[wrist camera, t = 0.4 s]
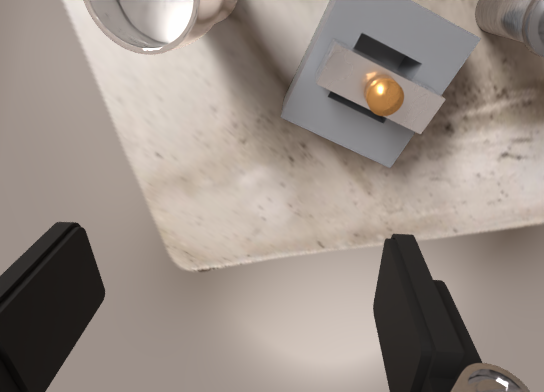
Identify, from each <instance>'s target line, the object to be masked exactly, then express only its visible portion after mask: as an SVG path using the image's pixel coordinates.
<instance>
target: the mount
mask: <svg viewBox="0 0 544 392" xmlns="http://www.w3.org/2000/svg"><path fill="white" fill-rule="evenodd" d="M333 38H335V39H337V40H338V41H340V42H342V43H344V44H346V45H348V46H350V47H352V48H354V49H356V50H358V51H360V52H362V53H364V54H366V55H368V56H370V57H372V58H374V59H376V60H378V61H380V62H382V63H384V64H386V65H388V66H390V67H391V68H393V69H395V70H397V71H399V72H401V73H403V74H405V75H407V76H409V77H411V78H413V79H415V80H417V81H419V82H421V83H423V84H425V85H427V86H429V87H431V88H433V89H434V90H435V91H437V92H438V93H439V94H440V95H442V94H443V92H444V91H445V89H446V88H447V86H448V85H449V84H450V82H451V81H452V79H453V78H454V76H455V75H456V74H457V72H458V71H459V69H460V68H461V67H462V65H463V64H464V62H465V61H466V59H467V58H468V57H469V55H470V54H471V52H472V51H473V49H474V48H475V47H476V45H477V44H478V42H479V41H480V39H481V38H479V37H477V36H476V35H474V34H472V33H470V32H468V31H466V30H465V29H463V28H461V27H459V26H457V25H455V24H453V23H452V22H450V21H448V20H446V19H444V18H442V17H441V16H439V15H437V14H435V13H433V12H431V11H430V10H428V9H426V8H424V7H422V6H420V5H419V4H417V3H415V2H413V1H411V0H330V1H329V4H328V6H327V8H326V10H325V12H324V14H323V16H322V19H321V21H320V23H319V25H318V27H317V29H316V31H315V33H314V36H313V38H312V40H311V42H310V44H309V46H308V48H307V50H306V53H305V55H304V57H303V59H302V61H301V63H300V65H299V68H298V70H297V72H296V74H295V76H294V78H293V80H292V82H291V85H290V87H289V89H288V91H287V93H286V95H285V97H284V101H283V107H282V112H281V118H283V119H285V120H287V121H289V122H291V123H294V124H296V125H298V126H300V127H302V128H304V129H307V130H309V131H311V132H313V133H315V134H317V135H319V136H322V137H324V138H326V139H328V140H330V141H332V142H335V143H337V144H339V145H341V146H343V147H345V148H348V149H350V150H352V151H354V152H356V153H358V154H361V155H363V156H365V157H367V158H369V159H371V160H373V161H376V162H378V163H380V164H382V165H384V166H386V167H389V168H391V166H392V165H393V164H394V162H395V161H396V159H397V158H398V156H399V155H400V154H401V152H402V151H403V149H404V148H405V146H406V145H407V144H408V142H409V141H410V139H411V138H412V136H413V135H414V134H415V131H412V130H410V129H408V128H406V127H404V126H402V125H400V124H398V123H396V122H394V121H392V120H390V119H388V118H386V117H384V116H379V115H376V114H374V113H373V112H372V111H371V110H369V109H367V108H365V107H363V106H361V105H359V104H357V103H355V102H353V101H351V100H349V99H346V98H344V97H342V96H340V95H338V94H336V93H334V92H332V91H330V90H328V89H326V88H324V87H322V86H320V85H318V84H316V79H315V74H316V72H317V70H318V68H319V66H320V64H321V62H322V60H323V58H324V56H325V54H326V52H327V50H328V48H329V46H330V44H331V42H332V40H333Z"/></svg>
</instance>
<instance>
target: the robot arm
mask: <svg viewBox="0 0 544 392" xmlns="http://www.w3.org/2000/svg"><path fill="white" fill-rule="evenodd" d="M104 297H105V288H104V286H103V282H102V279H101V276H100V273H99V270H98V267H97V264H96V261H95V258H94V255H93V252H92V249H91V246H90V243H89V240H88V237H87V234H86V231H85V229H84V228H82V227H81V226H80V225H79V224H78V223H74V222H71V223H70V222H57V223H55V224H54V225H53V226H52V227H51V228H50V229H49V230H48V231H47V232H46V233H45V234H44V235H43V236H42V237H40V238H39V239H38V240H37V241H36V242H35V243H34V244H33V245H32V246H31V247H30V248H29V249H28V250H27V251H26V252H25V253H24V254H23V255H22V256H21V257H20V258H19V259H18V260H17V261H15V262H14V263H13V264H12V265H11V266H10V267H9V268H8V269H7V270H6V271H5V272H4V273H3V274H2V275H1V276H0V392H45V391H46V390H47V388H48V387H49V385H50V383H51V382H52V380H53V379H54V377H55V376H56V374H57V372H58V371H59V369H60V368H61V366H62V365H63V363H64V361H65V360H66V358H67V357H68V355H69V354H70V352H71V350H72V349H73V347H74V346H75V344H76V342H77V341H78V339H79V338H80V336H81V335H82V333H83V332H84V330H85V328H86V327H87V325H88V323H89V322H90V321H91V319H92V317H93V316H94V314H95V313H96V311H97V309H98V308H99V306H100V305H101V303H102V302H103V300H104ZM373 310H374V318H375V322H376V327H377V332H378V337H379V342H380V346H381V351H382V356H383V361H384V366H385V370H386V375H387V380H388V385H389V390H390V392H530V390H529V389H528V387H527V386H526V385H525V384H524V383H523V382H522V381H521V380H520V379H519V378H517V377H516V376H514V375H513V374H512V373H510V372H509V371H507V370H505V369H503V368H501V367H498V366H496V365H492V364H487V363H482V361H481V359H480V357H479V354H478V353H477V350H476V348H475V346H474V344H473V342H472V340H471V337H470V335H469V333H468V331H467V329H466V327H465V325H464V322H463V320H462V318H461V316H460V314H459V312H458V310H457V308H456V305H455V303H454V301H453V299H452V297H451V295H450V292H449V290H448V289H447V286H446V285H445V283H444V282H443V281H440V280H433V279H432V276H431V274H430V272H429V269H428V267H427V265H426V263H425V261H424V258H423V255H422V253H421V251H420V249H419V246H418V244H417V242H416V239H415V237H414V235H408V234H393V235H392V237H391V239H385V242H384V248H383V253H382V259H381V265H380V270H379V276H378V281H377V287H376V292H375V298H374V305H373Z"/></svg>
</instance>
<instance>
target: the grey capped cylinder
mask: <svg viewBox="0 0 544 392" xmlns="http://www.w3.org/2000/svg"><path fill="white" fill-rule="evenodd" d="M475 18H476V22H477V24H478V26H479V27H480V28H481V29H482V30H483V31H485V32H488V33H491V34H495V35H498V36H502V37H506V38H509V39H513V40H516V41H520V42H523V43H525V45H526V46H527V48H528V49H529V50H530V51H531V52H533V53H534V54H536V55H538V56H541V57H544V0H479V1H478V4H477V7H476V11H475Z"/></svg>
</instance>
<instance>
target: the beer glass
mask: <svg viewBox="0 0 544 392" xmlns="http://www.w3.org/2000/svg"><path fill="white" fill-rule="evenodd" d="M83 1H84V3H85V6H86V8H87V10H88V12H89V14H90V15H91V17H92V19H93V20H94V22H95V23H96V24H97V26H98V27H99V28H100V29H101V30H102V32H103V33H104V34H105V35H106V36H108V37H109V38H110V39H111V40H112V41H114V42H115V43H117V44H118V45H120V46H121V47H123V48H125V49H127V50H130V51H133V52H136V53H140V54H160V53H164V52H167V51H170V50H174V49H178V48H181V47H184V46H186V45H189V44H191V43H193V42H195V41H196V40H198V39H199V38H201V37H202V36H204V35H205V34H206V33H207V32H208V31H209V30H210V29H211V28H212V26H213V25H214V24H215V23H218V22H220V21H222V20H224V19H225V18H227V17H228V16H229V15H230V14H231V12H232V11H233V9H234V8H235V5H236V3H237V0H83Z"/></svg>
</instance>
